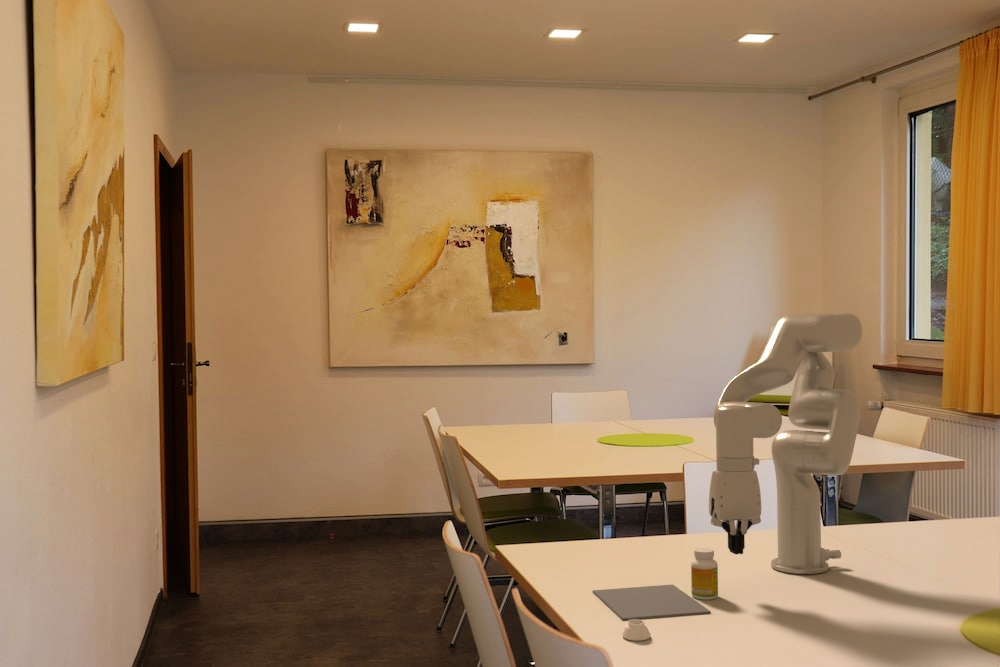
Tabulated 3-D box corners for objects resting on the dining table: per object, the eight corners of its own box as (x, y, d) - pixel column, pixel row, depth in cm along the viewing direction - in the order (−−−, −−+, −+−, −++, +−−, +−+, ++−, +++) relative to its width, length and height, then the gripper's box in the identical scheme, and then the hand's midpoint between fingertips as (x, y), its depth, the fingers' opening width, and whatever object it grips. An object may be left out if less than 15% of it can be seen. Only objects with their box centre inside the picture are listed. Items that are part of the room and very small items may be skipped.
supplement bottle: (718, 600, 194) (717, 553, 194) (691, 599, 196) (690, 552, 195) (717, 593, 200) (717, 547, 200) (691, 592, 201) (690, 546, 201)
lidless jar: (652, 642, 170) (647, 633, 175) (652, 625, 170) (647, 617, 175) (624, 643, 170) (620, 634, 175) (624, 626, 170) (620, 618, 175)
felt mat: (672, 586, 206) (672, 584, 206) (710, 613, 186) (710, 611, 186) (592, 592, 202) (592, 590, 202) (622, 620, 183) (622, 618, 183)
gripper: (759, 461, 204) (761, 546, 204) (694, 464, 201) (695, 551, 201) (776, 465, 197) (778, 554, 197) (708, 469, 194) (710, 559, 194)
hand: (736, 552), depth 199 cm, fingers closed
